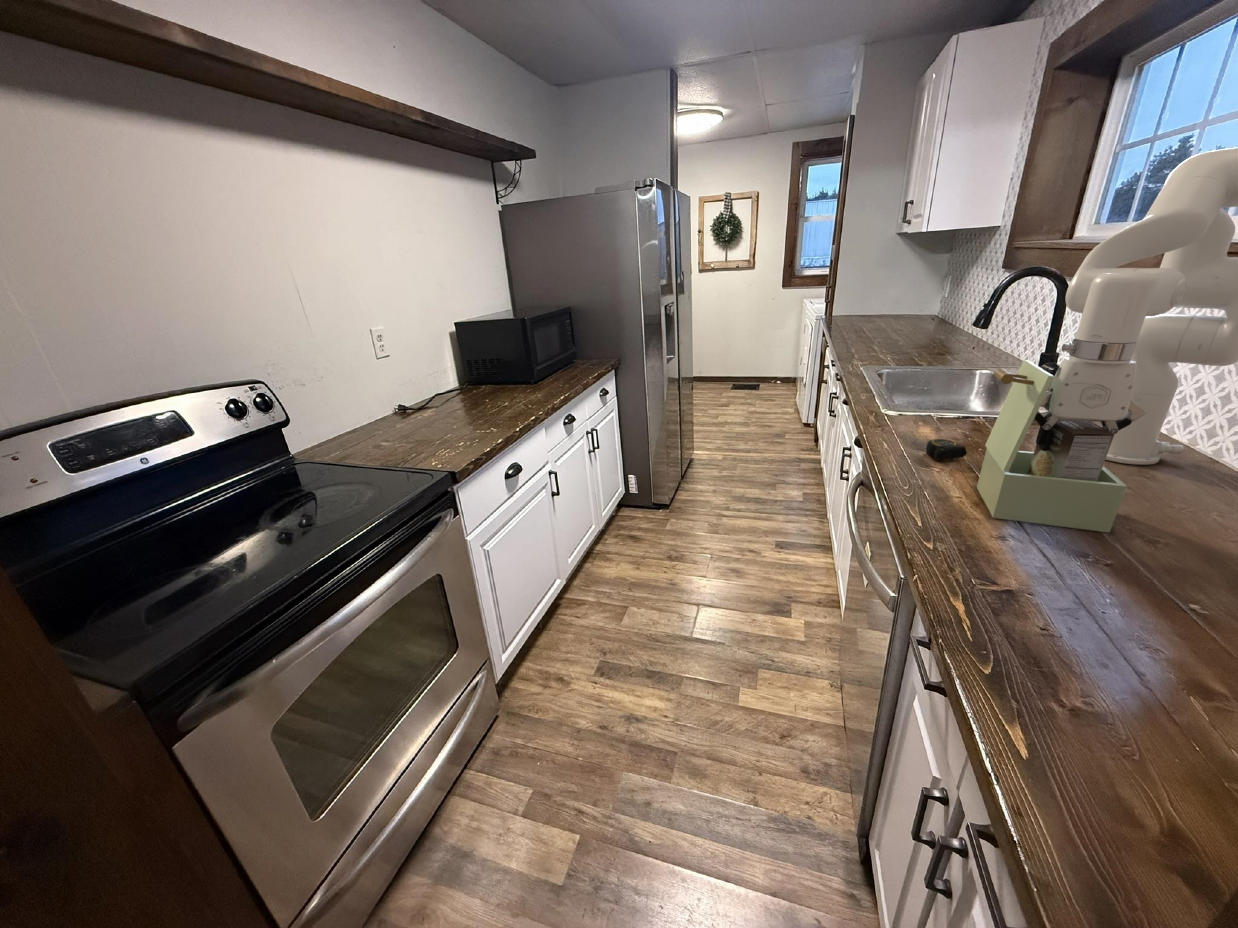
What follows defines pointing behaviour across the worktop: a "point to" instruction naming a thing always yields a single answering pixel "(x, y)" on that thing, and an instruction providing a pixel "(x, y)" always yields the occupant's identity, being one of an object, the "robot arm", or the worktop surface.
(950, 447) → the tape measure
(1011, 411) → the lid
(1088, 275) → the robot arm
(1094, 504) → the chest
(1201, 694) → the worktop surface
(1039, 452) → the coffee box
